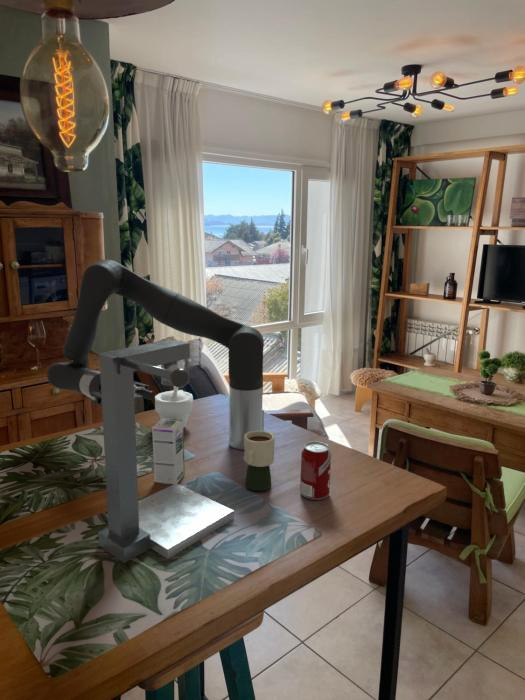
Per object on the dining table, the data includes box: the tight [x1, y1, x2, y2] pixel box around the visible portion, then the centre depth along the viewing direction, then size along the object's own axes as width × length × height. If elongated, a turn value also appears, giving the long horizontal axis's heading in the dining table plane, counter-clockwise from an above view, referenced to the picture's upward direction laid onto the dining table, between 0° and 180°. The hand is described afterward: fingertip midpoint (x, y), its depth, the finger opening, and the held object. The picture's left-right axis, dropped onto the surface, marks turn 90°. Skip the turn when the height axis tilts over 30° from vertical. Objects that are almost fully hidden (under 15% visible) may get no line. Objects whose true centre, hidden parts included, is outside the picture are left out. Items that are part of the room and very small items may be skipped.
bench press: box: [97, 338, 235, 564], centre depth 99 cm, size 24×27×38 cm
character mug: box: [243, 430, 276, 491], centre depth 122 cm, size 11×7×13 cm, turn 157°
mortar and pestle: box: [154, 358, 194, 429], centre depth 156 cm, size 13×12×25 cm
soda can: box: [299, 441, 332, 501], centre depth 119 cm, size 7×7×12 cm
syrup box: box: [151, 418, 186, 485], centre depth 125 cm, size 6×6×14 cm
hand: (138, 400), depth 129 cm, fingers open, 8 cm apart
